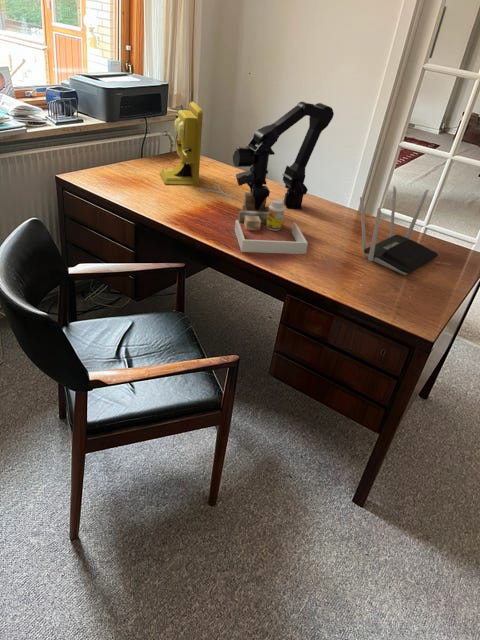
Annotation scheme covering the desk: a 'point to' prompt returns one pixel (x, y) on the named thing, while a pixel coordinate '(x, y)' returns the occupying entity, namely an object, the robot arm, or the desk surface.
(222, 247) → the desk surface
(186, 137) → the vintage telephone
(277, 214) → the supplement bottle
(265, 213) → the wooden block frame
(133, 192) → the desk surface
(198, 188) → the scissors
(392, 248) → the wireless router
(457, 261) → the desk surface
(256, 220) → the pale wooden block
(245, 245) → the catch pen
